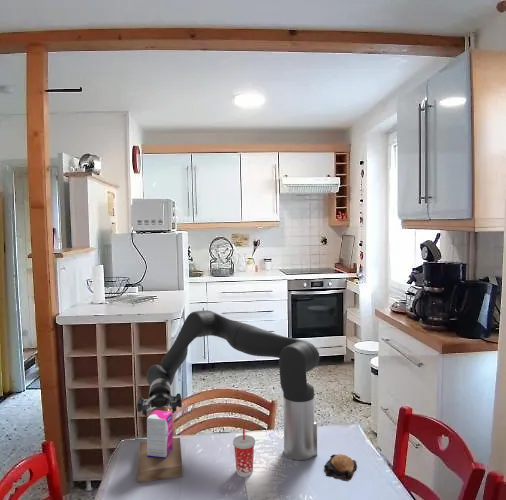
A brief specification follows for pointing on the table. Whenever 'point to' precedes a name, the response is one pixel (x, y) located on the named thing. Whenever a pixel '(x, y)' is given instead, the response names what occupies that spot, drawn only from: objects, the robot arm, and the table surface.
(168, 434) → the supplement box
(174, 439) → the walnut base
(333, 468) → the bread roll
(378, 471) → the table surface
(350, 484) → the table surface
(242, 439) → the beverage cup
